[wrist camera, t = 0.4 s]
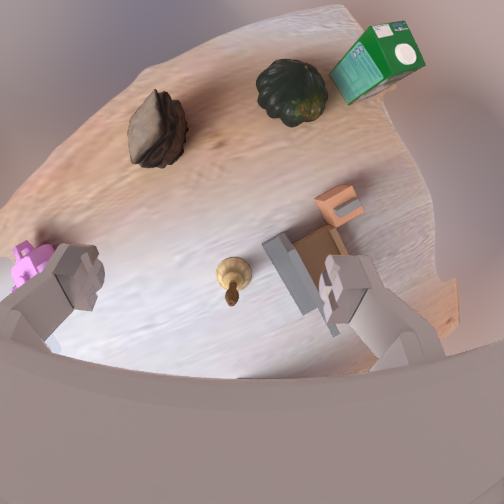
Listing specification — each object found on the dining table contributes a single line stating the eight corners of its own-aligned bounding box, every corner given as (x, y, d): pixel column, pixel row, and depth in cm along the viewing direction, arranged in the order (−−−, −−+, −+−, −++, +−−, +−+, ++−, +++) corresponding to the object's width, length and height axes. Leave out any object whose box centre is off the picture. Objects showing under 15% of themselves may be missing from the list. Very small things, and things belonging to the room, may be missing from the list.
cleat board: (355, 280, 65) (382, 307, 50) (301, 311, 67) (315, 346, 52) (321, 210, 61) (345, 219, 45) (261, 243, 63) (267, 264, 47)
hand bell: (247, 253, 63) (247, 277, 48) (255, 286, 65) (257, 318, 50) (211, 261, 63) (201, 287, 48) (221, 294, 66) (214, 326, 50)
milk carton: (348, 105, 55) (400, 70, 31) (328, 74, 53) (369, 25, 29) (376, 94, 54) (433, 61, 30) (357, 64, 52) (405, 19, 28)
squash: (261, 138, 52) (319, 107, 40) (232, 78, 49) (282, 39, 37) (301, 131, 60) (352, 107, 48) (275, 79, 57) (322, 49, 46)
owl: (183, 104, 54) (157, 73, 35) (207, 149, 57) (189, 134, 38) (136, 132, 56) (94, 115, 36) (158, 177, 58) (121, 176, 39)
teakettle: (70, 251, 62) (43, 264, 50) (65, 304, 66) (43, 322, 54) (30, 232, 60) (3, 241, 49) (28, 282, 64) (4, 296, 52)
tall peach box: (350, 207, 61) (370, 213, 50) (325, 222, 62) (341, 230, 51) (339, 184, 60) (357, 185, 49) (313, 199, 60) (327, 202, 50)
